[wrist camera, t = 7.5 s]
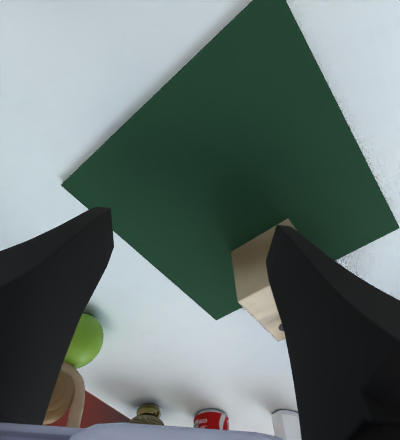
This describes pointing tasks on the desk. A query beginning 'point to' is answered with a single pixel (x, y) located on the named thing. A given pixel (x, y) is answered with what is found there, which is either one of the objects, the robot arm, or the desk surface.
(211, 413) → the soda can
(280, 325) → the die
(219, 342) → the desk surface
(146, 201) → the dice mat
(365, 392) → the robot arm
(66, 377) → the snail figurine
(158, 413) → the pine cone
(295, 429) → the eye dropper bottle
